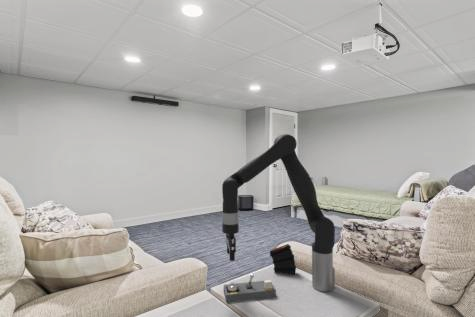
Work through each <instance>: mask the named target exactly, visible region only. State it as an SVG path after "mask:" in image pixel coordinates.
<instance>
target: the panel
mask: <svg viewBox="0 0 475 317" xmlns="http://www.w3.org/2000/svg"><path fill="white" fill-rule="evenodd" d="M248 283H249V281H248V282H238V283H236V284H237V285H238V292H231V293H228V285H229V284H230V283H229V284H228V283H227V284H223V293H224V298H225V302H226V303H231V302H240V301H248V300H250V301H251V300H257V299H266V298H274V297H277V290H276V288H275V286H274V285H273V283H272V288H270V289H265V288H264V280H259V281H251V284H248Z"/></svg>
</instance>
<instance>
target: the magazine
mask: <svg viewBox="0 0 475 317" xmlns="http://www.w3.org/2000/svg"><path fill="white" fill-rule="evenodd" d="M269 256H270V258H271V259H272V264H273V271H274V273H275V274H285V275H290V276H296V272H297V271H296V270H297V265H296V260H295V254H293V251H292V249H291V245H289V243H287V244H284V245H282V246H278V247H276V248H274V249H271V250H270V251H269Z"/></svg>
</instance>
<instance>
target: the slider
mask: <svg viewBox="0 0 475 317" xmlns="http://www.w3.org/2000/svg"><path fill="white" fill-rule="evenodd" d="M263 281H264V288H265V289H270V288H272V284H273V281H272V279H267V280H266V279H265V280H263Z"/></svg>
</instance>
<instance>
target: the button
mask: <svg viewBox="0 0 475 317" xmlns="http://www.w3.org/2000/svg"><path fill="white" fill-rule="evenodd" d="M231 292H238V285H237V283H235V282H234V283H233V282H231V283H229V285H228V293H231Z"/></svg>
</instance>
